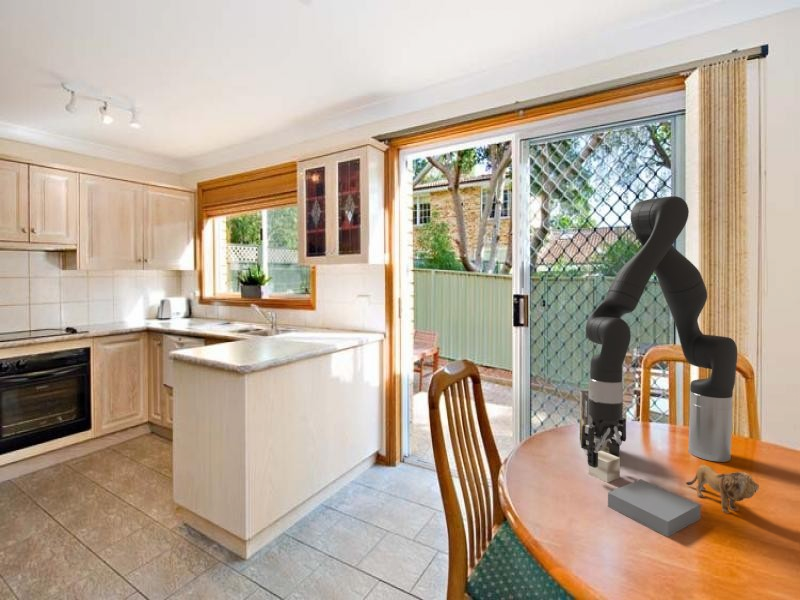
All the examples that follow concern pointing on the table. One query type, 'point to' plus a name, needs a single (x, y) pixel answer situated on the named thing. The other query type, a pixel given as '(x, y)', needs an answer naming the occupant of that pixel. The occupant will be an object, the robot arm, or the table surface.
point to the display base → (654, 507)
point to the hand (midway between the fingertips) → (603, 462)
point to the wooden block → (606, 467)
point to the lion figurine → (726, 485)
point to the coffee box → (589, 421)
